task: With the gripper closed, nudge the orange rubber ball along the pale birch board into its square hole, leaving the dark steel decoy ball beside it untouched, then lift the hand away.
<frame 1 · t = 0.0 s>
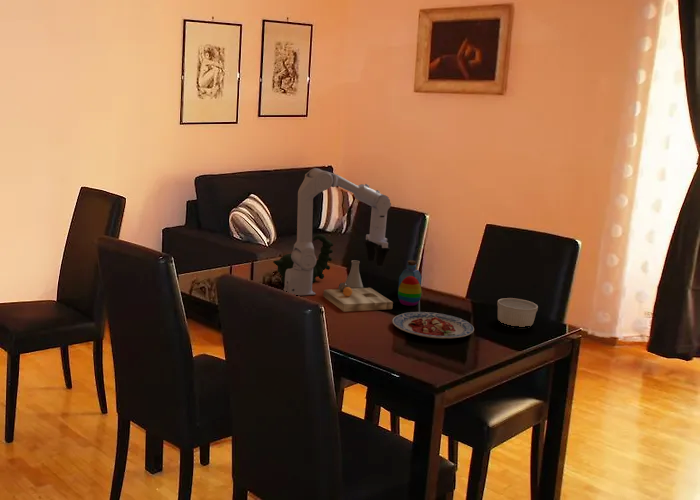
hand: (374, 263, 294), 10 cm above the table, fingers open, 7 cm apart
ramekin: (515, 324, 269), on the table
board: (357, 302, 278), on the table
flask: (353, 288, 298), on the table
ball: (347, 291, 276), point 4 cm above the table, touching board
decoy ball: (343, 286, 281), point 4 cm above the table, touching board
decorative egg: (408, 304, 282), on the table
ceramic plate: (432, 331, 254), on the table
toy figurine: (300, 282, 300), on the table
perfume bottle: (408, 293, 296), on the table
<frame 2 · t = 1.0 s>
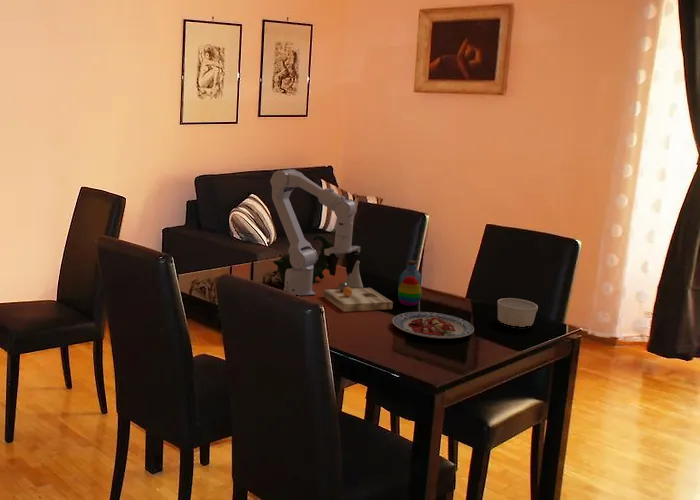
hand: (340, 274, 277), 10 cm above the table, fingers open, 7 cm apart
nothing on the table moved.
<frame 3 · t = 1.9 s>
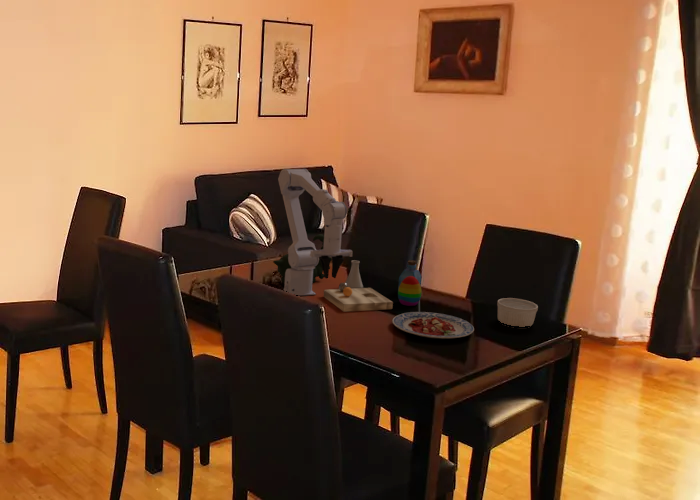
hand: (329, 277, 272), 9 cm above the table, fingers closed
nothing on the table moved.
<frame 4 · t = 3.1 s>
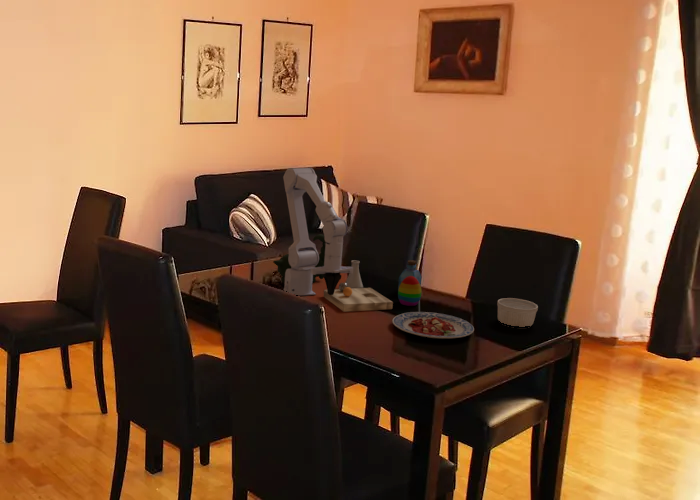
hand: (330, 294, 273), 4 cm above the table, fingers closed
nothing on the table moved.
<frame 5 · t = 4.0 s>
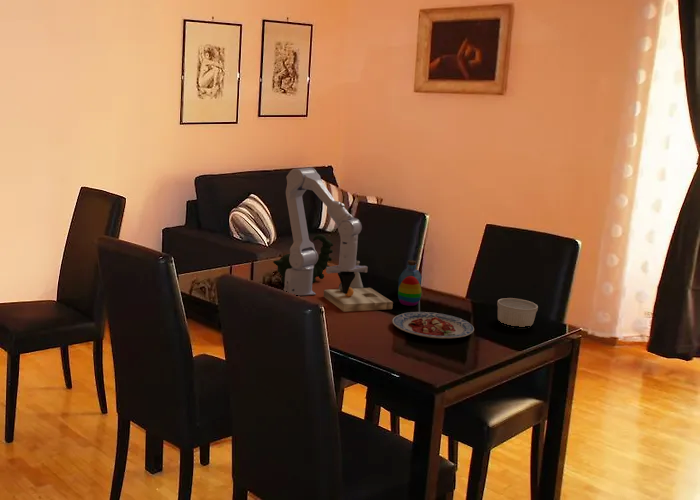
hand: (345, 293, 275), 4 cm above the table, fingers closed, pressing on ball
ball: (348, 291, 276), point 4 cm above the table, tilted 18°, touching board, gripper
everything else where it was.
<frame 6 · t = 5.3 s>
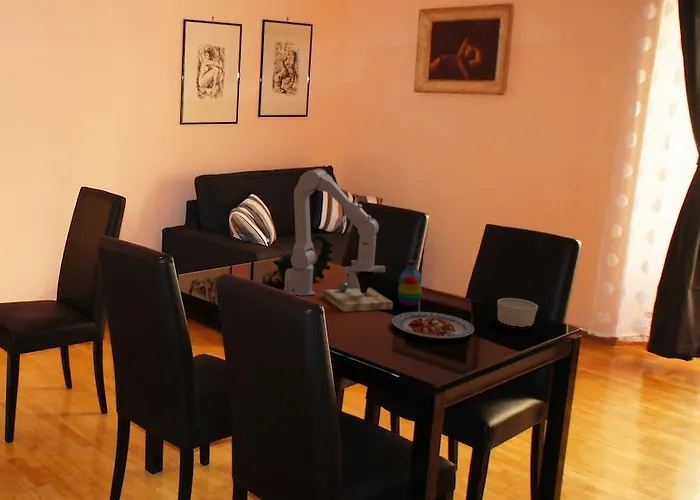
hand: (363, 292, 278), 4 cm above the table, fingers closed
ball: (371, 297, 280), point 2 cm above the table, tilted 54°
everything else where it was.
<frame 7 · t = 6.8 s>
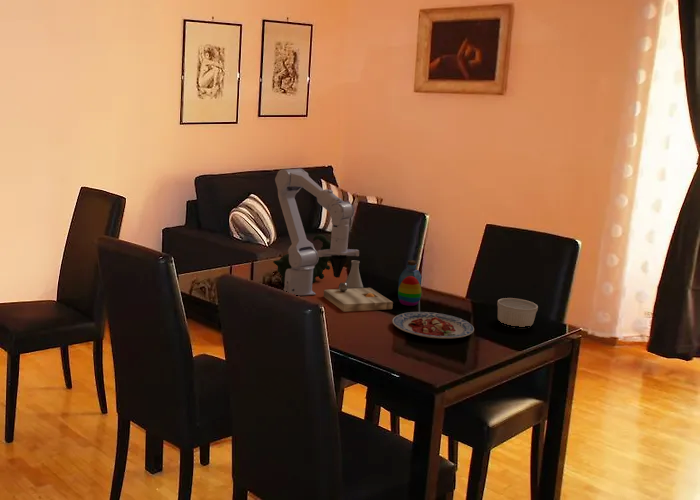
hand: (336, 276, 274), 9 cm above the table, fingers closed
ball: (370, 297, 280), point 2 cm above the table, tilted 42°
everything else where it was.
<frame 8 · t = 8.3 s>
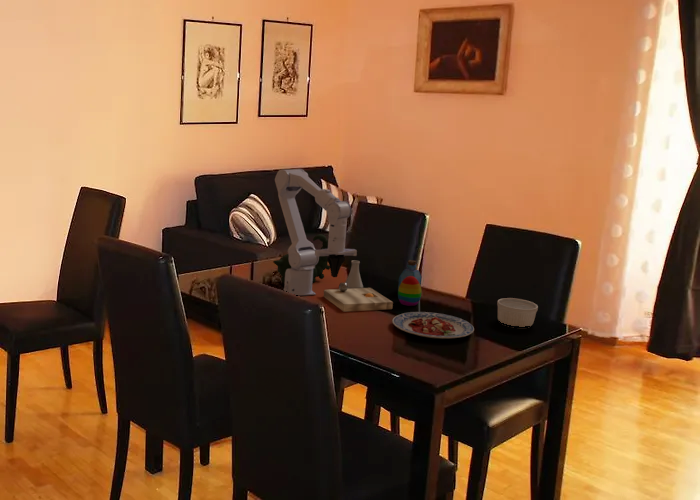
hand: (334, 276, 273), 9 cm above the table, fingers closed
ball: (369, 297, 280), point 2 cm above the table, tilted 30°
everything else where it was.
at the end: ball 0.1 cm from the target spot on the board, point 1.6 cm above the board's base; decoy ball moved 0.0 cm from its start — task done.
